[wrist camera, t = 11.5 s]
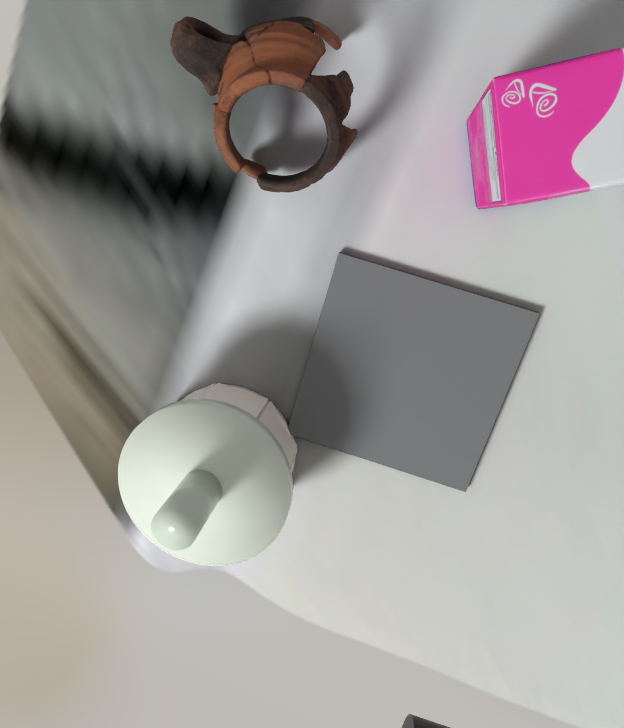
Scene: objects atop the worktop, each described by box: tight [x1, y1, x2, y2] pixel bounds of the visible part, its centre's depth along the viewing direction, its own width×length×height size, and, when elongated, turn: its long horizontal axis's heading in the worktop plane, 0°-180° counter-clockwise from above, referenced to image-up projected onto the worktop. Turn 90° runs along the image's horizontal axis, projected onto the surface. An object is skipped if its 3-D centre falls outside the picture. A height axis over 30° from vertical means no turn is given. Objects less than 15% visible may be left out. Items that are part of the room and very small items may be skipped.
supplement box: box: [467, 47, 624, 209], centre depth 30 cm, size 6×6×12 cm
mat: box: [288, 252, 539, 492], centre depth 40 cm, size 14×14×1 cm
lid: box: [118, 399, 293, 566], centre depth 36 cm, size 12×12×6 cm
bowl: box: [182, 383, 298, 473], centre depth 42 cm, size 11×11×5 cm
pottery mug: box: [170, 17, 358, 192], centre depth 35 cm, size 12×10×8 cm
